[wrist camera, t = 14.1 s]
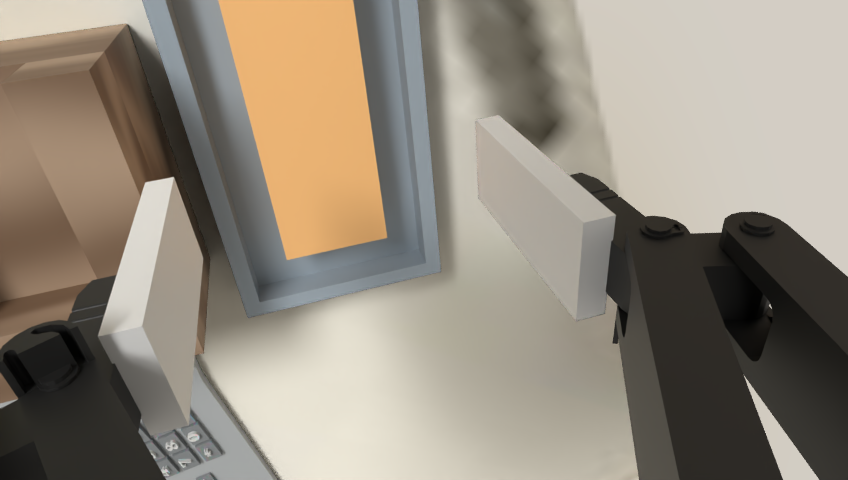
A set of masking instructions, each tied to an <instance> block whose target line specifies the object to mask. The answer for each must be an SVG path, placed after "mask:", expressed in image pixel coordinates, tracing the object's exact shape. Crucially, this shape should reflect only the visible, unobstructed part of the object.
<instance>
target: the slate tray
mask: <svg viewBox="0 0 848 480" xmlns="http://www.w3.org/2000/svg"><path fill="white" fill-rule="evenodd" d="M142 2H143V5H144V8H145V11H146V14H147V17H148V20H149V23H150V26H151V29H152V32H153V35H154V38H155V41H156V44H157V47H158V50H159V53H160V56H161V59H162V62H163V65H164V68H165V71H166V74H167V77H168V80H169V83H170V86H171V89H172V92H173V95H174V98H175V101H176V104H177V107H178V110H179V113H180V116H181V119H182V122H183V125H184V128H185V131H186V134H187V137H188V140H189V143H190V146H191V149H192V152H193V155H194V158H195V161H196V164H197V167H198V170H199V173H200V176H201V179H202V182H203V185H204V188H205V191H206V194H207V197H208V200H209V203H210V206H211V209H212V212H213V215H214V218H215V221H216V224H217V227H218V230H219V233H220V236H221V239H222V242H223V245H224V248H225V251H226V254H227V257H228V260H229V263H230V266H231V269H232V272H233V275H234V278H235V281H236V284H237V287H238V290H239V293H240V296H241V299H242V302H243V305H244V308H245V311H246V314H247V317H248V318H250V317H254V316H258V315H262V314H267V313H271V312H275V311H279V310H283V309H287V308H292V307H296V306H300V305H304V304H308V303H312V302H317V301H321V300H325V299H329V298H333V297H337V296H342V295H346V294H350V293H354V292H358V291H363V290H367V289H371V288H375V287H379V286H383V285H388V284H392V283H396V282H400V281H404V280H408V279H413V278H417V277H421V276H425V275H429V274H433V273H438V272H441V265H440V254H439V242H438V231H437V219H436V208H435V197H434V185H433V174H432V162H431V151H430V139H429V128H428V116H427V105H426V93H425V82H424V71H423V59H422V48H421V36H420V25H419V13H418V2H417V0H353V3H354V10H355V17H356V24H357V30H358V37H359V44H360V51H361V58H362V65H363V72H364V79H365V86H366V93H367V100H368V107H369V114H370V121H371V128H372V135H373V142H374V149H375V156H376V163H377V169H378V176H379V183H380V190H381V197H382V204H383V211H384V218H385V225H386V232H387V238H384V239H380V240H375V241H371V242H366V243H362V244H357V245H353V246H348V247H344V248H339V249H335V250H330V251H326V252H321V253H317V254H312V255H308V256H303V257H299V258H295V259H290V260H287V259H286V255H285V251H284V247H283V243H282V240H281V236H280V232H279V228H278V225H277V221H276V217H275V213H274V209H273V206H272V202H271V198H270V194H269V191H268V187H267V183H266V179H265V175H264V172H263V168H262V164H261V160H260V156H259V153H258V149H257V145H256V141H255V138H254V134H253V130H252V126H251V122H250V119H249V115H248V111H247V107H246V104H245V100H244V96H243V92H242V88H241V85H240V81H239V77H238V73H237V69H236V66H235V62H234V58H233V54H232V51H231V47H230V43H229V39H228V35H227V32H226V28H225V24H224V20H223V17H222V13H221V9H220V5H219V1H218V0H142Z"/></svg>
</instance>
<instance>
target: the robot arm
mask: <svg viewBox="0 0 848 480" xmlns="http://www.w3.org/2000/svg"><path fill="white" fill-rule="evenodd" d="M475 124H476V150H477V175H478V198H479V199H480V201H481V202H482V203H483V205H484V206H485V207H486V208H487V210H488V211H489V212H490V213H491V215H492V216H493V217H494V218H495V220H496V221H497V222H498V223H499V225H500V226H501V227H502V229H503V230H504V231H505V232H506V234H507V235H508V236H509V237H510V239H511V240H512V241H513V242H514V244H515V245H516V246H517V248H518V249H519V250H520V251H521V253H522V254H523V255H524V256H525V258H526V259H527V260H528V261H529V263H530V264H531V265H532V266H533V268H534V269H535V270H536V272H537V273H538V274H539V275H540V277H541V278H542V279H543V280H544V282H545V283H546V284H547V285H548V287H549V288H550V289H551V290H552V292H553V293H554V294H555V296H556V297H557V298H558V299H559V301H560V302H561V303H562V304H563V306H564V307H565V308H566V309H567V311H568V312H569V313H570V315H571V316H572V317H573V318H574V320H575V321H579V320H583V319H587V318H590V317H594V316H598V315H602V314H605V308H606V299H607V294H608V295H609V296H610V297H611V298H612V299H613V300H614V301H615V302H616V303H617V313H616V321H615V329H614V337H613V343H615V344H618V339H619V345H620V352H621V359H622V366H623V373H624V379H625V386H626V393H627V400H628V407H629V414H630V420H631V427H632V434H633V441H634V448H635V455H636V461H637V468H638V475H639V480H783V479H782V476H781V473H780V471H779V468H778V465H777V463H776V460H775V457H774V455H773V452H772V449H771V447H770V444H769V442H768V439H767V436H766V433H765V431H764V428H763V426H762V423H761V420H760V418H759V415H758V412H757V410H756V408H755V404H754V402H753V399H752V396H751V394H750V391H749V389H748V386H747V383H746V380H745V378H744V376H745V377H746V379H747V380H748V381H749V383H750V384H751V385H752V387H753V388H754V390H755V391H756V392H757V394H758V395H759V396H760V398H761V399H762V401H763V402H764V403H765V405H766V406H767V407H768V409H769V410H770V412H771V413H772V415H773V416H774V417H775V419H776V420H777V421H778V423H779V424H780V426H781V427H782V428H783V430H784V431H785V433H786V434H787V435H788V437H789V438H790V439H791V441H792V442H793V444H794V445H795V446H796V448H797V449H798V451H799V452H800V453H801V455H802V456H803V458H804V459H805V460H806V462H807V463H808V464H809V466H810V467H811V469H812V470H813V471H814V473H815V474H816V475H817V477H818V478H819V480H848V277H847V276H846V275H845V274H844V273H843V272H841V271H840V270H839V269H838V268H837V267H836V266H834V265H833V264H832V263H831V262H830V261H829V260H827V259H826V258H825V257H824V256H823V255H822V254H821V253H819V252H818V251H817V250H816V249H815V248H814V247H813V246H811V245H810V244H809V243H808V242H807V241H805V240H804V239H803V238H802V237H801V236H800V235H799V234H798V233H796V232H795V231H794V230H793V229H792V228H791V227H789V226H788V225H787V224H786V223H784V222H782V221H781V220H779V219H778V218H775V217H772V216H769V215H767V214H764V213H758V212H740V213H736V214H731V215H730V216H728V217H727V218H725V220H724V224H723V229H722V233H698V234H690V232H689V231H688V229H687V228H686V227H685V226H684V225H683V224H681V223H679V222H678V221H676V220H673V219H669V218H666V217H658V216H647V217H645V216H644V215H642V214H641V213H640V212H638V211H637V210H636V209H635V208H633V207H632V206H631V205H630V204H628V203H627V202H626V201H625V200H623V199H622V198H621V197H618V195H617V194H616V193H615V192H613V191H612V190H609V188H608V187H607V186H606V185H605V184H603V183H602V182H601V181H600V180H598V179H596V178H594V177H591V176H588V175H586V174H583V173H578V174H573V175H568V174H567V173H566V172H565V171H563V170H562V169H561V168H560V167H559V166H558V165H556V164H555V163H554V162H553V161H552V160H551V159H549V158H548V157H547V156H546V155H545V154H543V153H542V152H541V151H540V150H539V149H538V148H536V147H535V146H534V145H533V144H532V143H531V142H529V141H528V140H527V139H526V138H525V137H524V136H522V135H521V134H520V133H519V132H518V131H517V130H515V129H514V128H513V127H512V126H511V125H509V124H508V123H507V122H506V121H505V120H504V119H502V118H501V117H500V116H499V115H497V116H492V117H486V118H481V119H476V120H475ZM202 267H203V256H202V253H201V250H200V248H199V245H198V242H197V239H196V237H195V234H194V231H193V228H192V225H191V223H190V220H189V217H188V214H187V212H186V209H185V206H184V203H183V201H182V198H181V195H180V192H179V190H178V187H177V184H176V181H175V178H174V177H171V178H166V179H161V180H156V181H150V182H145V185H144V188H143V191H142V194H141V198H140V201H139V204H138V207H137V211H136V214H135V217H134V220H133V224H132V227H131V230H130V233H129V237H128V240H127V243H126V246H125V250H124V253H123V256H122V259H121V263H120V266H119V269H118V272H117V275H114V276H109V277H105V278H100V279H96V280H92V281H91V282H90V283H89V284H88V285H87V286H86V287H85V288H84V289H83V290H82V291H81V292H80V293H79V294H78V295H77V297H76V300H75V302H74V305H73V307H72V313H70V315H69V318H68V320H67V321H65V320H55V321H49V322H44V323H41V324H38V325H36V326H33V327H30V328H28V329H26V330H24V331H23V332H21V333H19V334H17V335H15V336H14V337H13V338H12V339H10V340H9V341H8V342H7V343H6V344H4V345H3V346H2V348H1V349H0V373H1V374H2V376H3V377H4V379H5V380H6V381H7V383H8V384H9V386H10V387H11V389H12V390H13V392H14V393H15V395H16V396H17V397H18V400H16V401H14V402H12V403H10V404H8V405H6V406H4V407H2V408H0V480H166V478H165V477H164V475H163V473H162V472H161V470H160V468H159V466H158V465H157V463H156V461H155V460H154V458H153V456H152V455H151V453H150V451H149V449H148V448H147V446H146V444H145V443H144V441H143V439H142V437H141V436H140V434H139V427H140V421H141V419H142V421H143V423H144V425H145V426H146V428H147V430H148V432H149V434H150V436H151V435H155V434H159V433H163V432H166V431H170V430H174V429H178V428H181V427H185V426H189V417H190V405H191V393H192V382H193V370H194V359H195V347H196V336H197V324H198V313H199V301H200V290H201V278H202ZM769 304H771V307H772V309H771V308H770V307H769ZM743 374H744V375H743Z"/></svg>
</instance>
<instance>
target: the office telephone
mask: <svg viewBox="0 0 848 480" xmlns="http://www.w3.org/2000/svg"><path fill="white" fill-rule="evenodd" d="M17 400H18V399H17ZM14 401H16V400H12V401H8V402H4V403H0V408H2V407H4V406H6V405H8V404H10V403H12V402H14ZM139 434H140V436H141V437H142V439H143V441H144V443H145V444H146V446H147V448H148V449H149V451H150V453H151V455H152V456H153V458H154V460H155V461H156V463H157V465H158V466H159V468H160V470H161V472H162V473H163V475H164V477H165V478H166V480H278V479H277V478H276V476H275V475H274V473H273V472H272V470H271V469H270V468H269V466H268V465H267V463H266V462H265V461H264V459H263V458H262V456H261V455H260V453H259V452H258V451H257V449H256V448H255V446H254V445H253V444H252V442H251V441H250V439H249V438H248V436H247V435H246V434H245V432H244V431H243V429H242V428H241V426H240V425H239V424H238V422H237V421H236V419H235V418H234V417H233V415H232V414H231V412H230V411H229V409H228V408H227V407H226V405H225V404H224V402H223V401H222V399H221V398H220V397H219V395H218V394H217V392H216V391H215V390H214V388H213V387H212V385H211V384H210V382H209V381H208V379H207V378H206V376H205V375H204V373H203V372H202V370H201V368H200V366H199V363H198V361H197V359H196V358H195V359H194V370H193V382H192V393H191V405H190V417H189V426H185V427H181V428H178V429H174V430H170V431H166V432H163V433H159V434H155V435H151V436H150V434H149V432H148V430H147V428H146V426H145V425H144V423H143V421H142V419H141V421H140V427H139Z"/></svg>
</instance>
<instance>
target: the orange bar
mask: <svg viewBox="0 0 848 480" xmlns="http://www.w3.org/2000/svg"><path fill="white" fill-rule="evenodd" d="M218 1H219V5H220V9H221V13H222V17H223V20H224V24H225V28H226V32H227V35H228V39H229V43H230V47H231V51H232V54H233V58H234V62H235V66H236V69H237V73H238V77H239V81H240V85H241V88H242V92H243V96H244V100H245V104H246V107H247V111H248V115H249V119H250V122H251V126H252V130H253V134H254V138H255V141H256V145H257V149H258V153H259V156H260V160H261V164H262V168H263V172H264V175H265V179H266V183H267V187H268V191H269V194H270V198H271V202H272V206H273V209H274V213H275V217H276V221H277V225H278V228H279V232H280V236H281V240H282V243H283V247H284V251H285V255H286V259H287V260H290V259H295V258H299V257H303V256H308V255H312V254H317V253H321V252H326V251H330V250H335V249H339V248H344V247H348V246H353V245H357V244H362V243H366V242H371V241H375V240H380V239H384V238H387V232H386V225H385V218H384V211H383V204H382V197H381V190H380V183H379V176H378V169H377V163H376V156H375V149H374V142H373V135H372V128H371V121H370V114H369V107H368V100H367V93H366V86H365V79H364V72H363V65H362V58H361V51H360V44H359V37H358V30H357V24H356V17H355V10H354V3H353V0H218Z"/></svg>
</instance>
